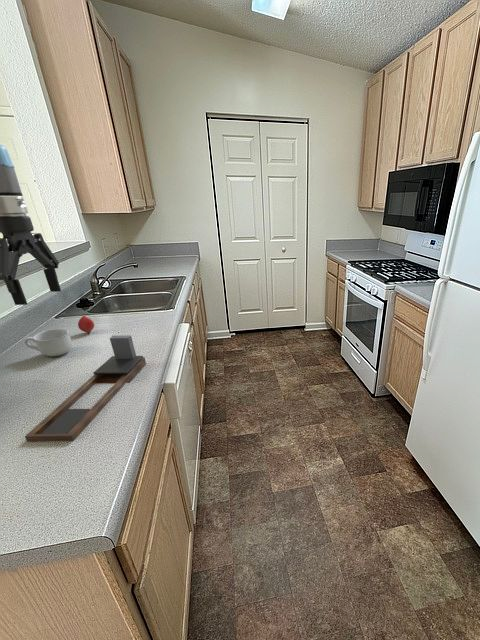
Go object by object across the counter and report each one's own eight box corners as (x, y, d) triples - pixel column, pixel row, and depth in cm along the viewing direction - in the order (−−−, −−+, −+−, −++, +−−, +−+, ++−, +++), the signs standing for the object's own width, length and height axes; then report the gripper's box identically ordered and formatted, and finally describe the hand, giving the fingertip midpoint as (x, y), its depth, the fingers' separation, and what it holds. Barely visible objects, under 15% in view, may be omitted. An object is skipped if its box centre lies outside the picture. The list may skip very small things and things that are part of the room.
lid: (112, 357, 114) (106, 335, 111) (143, 357, 114) (137, 335, 111) (93, 374, 104) (85, 350, 100) (127, 373, 104) (121, 350, 100)
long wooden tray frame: (114, 364, 116) (112, 357, 115) (146, 363, 116) (144, 357, 115) (28, 445, 79) (24, 436, 77) (75, 444, 79) (71, 435, 77)
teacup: (79, 346, 130) (73, 327, 127) (67, 358, 121) (59, 338, 117) (40, 349, 128) (32, 330, 125) (24, 361, 119) (16, 341, 115)
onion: (80, 336, 140) (74, 318, 137) (81, 331, 145) (76, 314, 141) (95, 334, 142) (90, 316, 139) (97, 329, 147) (91, 312, 143)
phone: (68, 411, 89) (67, 408, 88) (91, 411, 89) (90, 408, 88) (40, 438, 79) (38, 435, 79) (65, 438, 79) (64, 435, 79)
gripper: (-17, 218, 73) (19, 311, 82) (58, 213, 95) (79, 286, 104) (-51, 218, 73) (-12, 311, 82) (32, 213, 95) (56, 286, 104)
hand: (39, 297), depth 93 cm, fingers open, 13 cm apart
